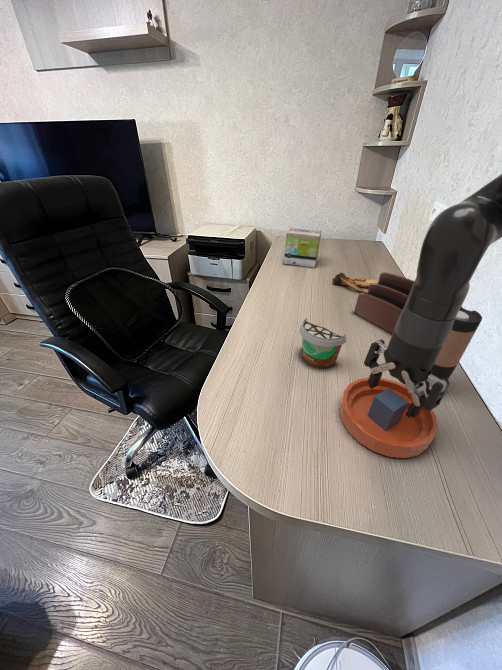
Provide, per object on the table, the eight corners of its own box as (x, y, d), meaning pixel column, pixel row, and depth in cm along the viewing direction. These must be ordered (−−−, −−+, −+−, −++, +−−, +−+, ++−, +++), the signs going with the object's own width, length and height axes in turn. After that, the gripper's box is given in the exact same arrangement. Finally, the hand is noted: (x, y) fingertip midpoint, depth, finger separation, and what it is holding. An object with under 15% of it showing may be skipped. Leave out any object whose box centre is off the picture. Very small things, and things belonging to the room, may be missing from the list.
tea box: (283, 264, 133) (285, 232, 124) (287, 257, 140) (289, 227, 132) (315, 268, 129) (319, 235, 121) (317, 261, 137) (321, 230, 128)
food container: (287, 357, 76) (290, 326, 70) (300, 347, 79) (304, 317, 74) (327, 378, 69) (334, 346, 63) (339, 366, 72) (347, 335, 67)
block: (399, 421, 58) (408, 402, 54) (385, 431, 56) (394, 411, 52) (381, 407, 61) (389, 387, 57) (367, 415, 59) (374, 396, 55)
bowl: (448, 433, 56) (456, 420, 54) (391, 476, 49) (398, 464, 46) (376, 380, 68) (380, 367, 66) (322, 408, 61) (325, 395, 59)
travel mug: (412, 393, 65) (447, 320, 53) (403, 371, 71) (433, 302, 60) (448, 397, 64) (491, 324, 52) (435, 374, 70) (471, 305, 59)
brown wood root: (330, 290, 111) (379, 295, 106) (332, 279, 108) (382, 284, 103) (332, 280, 118) (377, 284, 113) (333, 270, 115) (380, 274, 111)
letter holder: (372, 305, 99) (383, 268, 91) (425, 332, 86) (443, 291, 77) (353, 313, 95) (362, 274, 87) (405, 342, 81) (422, 299, 73)
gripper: (478, 349, 42) (436, 417, 52) (396, 308, 52) (373, 372, 62) (450, 365, 39) (411, 435, 49) (369, 319, 49) (349, 384, 59)
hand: (390, 399), depth 55 cm, fingers open, 8 cm apart
